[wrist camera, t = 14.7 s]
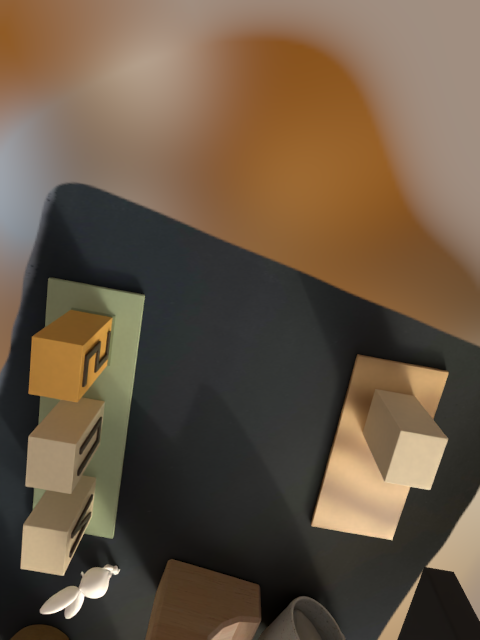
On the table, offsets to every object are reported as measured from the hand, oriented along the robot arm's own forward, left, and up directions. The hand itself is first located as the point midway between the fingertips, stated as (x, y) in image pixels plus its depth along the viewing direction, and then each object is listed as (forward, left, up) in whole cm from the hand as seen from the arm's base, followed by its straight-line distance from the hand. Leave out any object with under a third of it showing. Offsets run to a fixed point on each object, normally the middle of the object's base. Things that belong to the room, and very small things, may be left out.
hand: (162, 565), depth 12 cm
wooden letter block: (+25, -12, -32) cm, 42 cm away
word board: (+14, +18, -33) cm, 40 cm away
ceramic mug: (+38, +16, -33) cm, 53 cm away
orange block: (+7, -12, -32) cm, 35 cm away
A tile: (+10, +18, -32) cm, 38 cm away
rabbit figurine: (+36, -10, -33) cm, 50 cm away
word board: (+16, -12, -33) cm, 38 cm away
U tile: (+16, -12, -32) cm, 38 cm away
